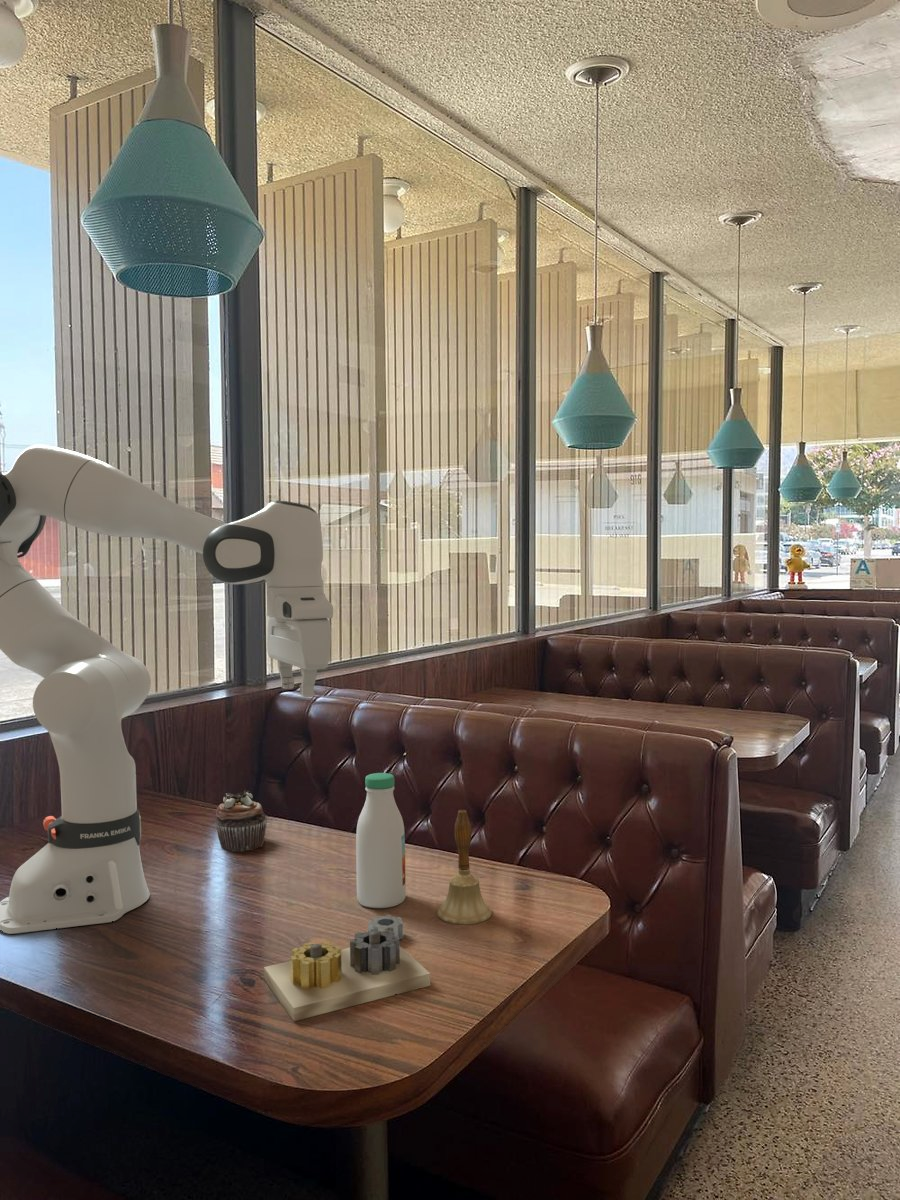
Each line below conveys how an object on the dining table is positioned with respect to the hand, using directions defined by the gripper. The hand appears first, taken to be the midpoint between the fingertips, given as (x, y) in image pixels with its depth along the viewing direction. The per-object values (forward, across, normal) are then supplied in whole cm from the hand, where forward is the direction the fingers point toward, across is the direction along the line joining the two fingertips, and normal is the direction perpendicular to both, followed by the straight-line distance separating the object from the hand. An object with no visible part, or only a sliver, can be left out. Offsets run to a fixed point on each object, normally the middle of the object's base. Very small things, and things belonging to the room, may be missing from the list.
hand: (297, 692), depth 142 cm
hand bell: (+33, +18, +20) cm, 43 cm away
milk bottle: (+33, +7, +11) cm, 36 cm away
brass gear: (+32, +30, -8) cm, 44 cm away
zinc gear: (+33, +20, +6) cm, 39 cm away
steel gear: (+32, +30, 0) cm, 44 cm away
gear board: (+33, +30, -4) cm, 45 cm away
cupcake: (+33, -31, -1) cm, 46 cm away
